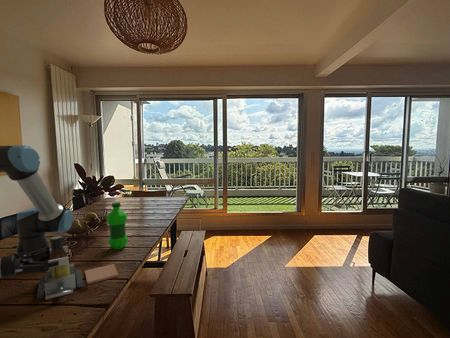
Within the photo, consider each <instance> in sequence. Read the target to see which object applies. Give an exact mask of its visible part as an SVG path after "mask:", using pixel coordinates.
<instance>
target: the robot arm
mask: <svg viewBox="0 0 450 338" xmlns="http://www.w3.org/2000/svg"><path fill="white" fill-rule="evenodd" d="M40 164H41V161H40V155H39V153H38V151H36V149H35V148H33V147H32V146H30V145H23V144H14V145H0V173H5V174H6V175H7V177H8V178H9V179H10V181H14V182H15V181H16V182H17V183H18V185H19V187H20V188H21V190H22V191H23V192H24V193H25V196H27V198H28V199H29V201H30V202H31V203H32V205H33V207H34V208H30V209H25V210H22V211H20V212H18V213H16V225H17V235H18V242H17V245H16V249H15V255H14V254H11V255H10V254H9V255H4V256H1V257H0V279H1V278H9V277H13V276H15V275H20V274H28V273H29V274H30V273H32V274H33V273H46V271H49V269H50V268H52V267H57V266H61V265H66V264H70V261H69V256H68V257H63V258H58V259H53V260H50V259H49V260H48V261H40V260H41V259H43V258H45V257H49V255H50V253H51V251H52V248H51V244H50V243H51V242H49V241H50V240H49V239H48V238H47V236H46V234H48V233H52V234H53V233H60V234H61V233H65V232H68V231H69V230H70V228H71V227H72V225H73V222H74V214H73V211H72V210H70V209H65V208H64V207H63V205H61V204H60V203H57V201H56V200H55V198H54V196H52V193H51V192H50V191H49V188H48V187H47V185H46V183H44V180H43V179H42V177H41V176H40V175H39V173H38V171H39V168H40ZM63 248H64V250H65V252H66V254H67V253H69V246H68V245H64V246H63ZM16 255H17V256H16ZM18 256H20V257H18ZM16 257H18V258H16Z"/></svg>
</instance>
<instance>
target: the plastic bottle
mask: <svg viewBox="0 0 450 338" xmlns="http://www.w3.org/2000/svg"><path fill="white" fill-rule="evenodd" d="M111 207H112V210H111V211H110V212H109V213H108V215H107V216H106V222H107V224H108V225H109V239H108V244H109V246H110V247H111V248H112V249H114V250H121V249H123V248H124V247H125V246H126V245H127V243H128V242H129V241H128V240H129V239H128V236H127V234H126V222H127V221H128V214H127V213H126V212H125V211H123V210H122V209H120V207H122V206H121V202H119V201H118V202H117V201H116V202H112V204H111Z"/></svg>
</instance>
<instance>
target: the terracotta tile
mask: <svg viewBox="0 0 450 338" xmlns="http://www.w3.org/2000/svg"><path fill="white" fill-rule="evenodd" d="M115 265H116V264H114V263H111V264H107V265H103V266H99V267H95V268H90V269H87V270H84V274H85V280H86V284H87V285H91V284H94V283H95V284H96V283H98V282H102V281H105V280H106V281H107V280H110V279H111V280H112V279H115V278H117V277H119V273H118V271H117V268H116V266H115Z"/></svg>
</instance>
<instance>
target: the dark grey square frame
mask: <svg viewBox="0 0 450 338" xmlns="http://www.w3.org/2000/svg"><path fill="white" fill-rule="evenodd" d="M48 269H49V271H46V272H45V276H43V277H39V281H38V286H37V292H36V297H37V299H38V300H39V299H41V298H45V300H51V299H54V298H55V299H56V298H58V297H62V296H65V295H69V294H73V293H74V290H76V289H79V288H80V289H81V288H83V287H84V280H83V274H82V273H83V272H82V268H77V269H75V263H74V262H73V263H69V272H70V275H66V276H62V277H57V278H53V279H52V276H51V268H48Z"/></svg>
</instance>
